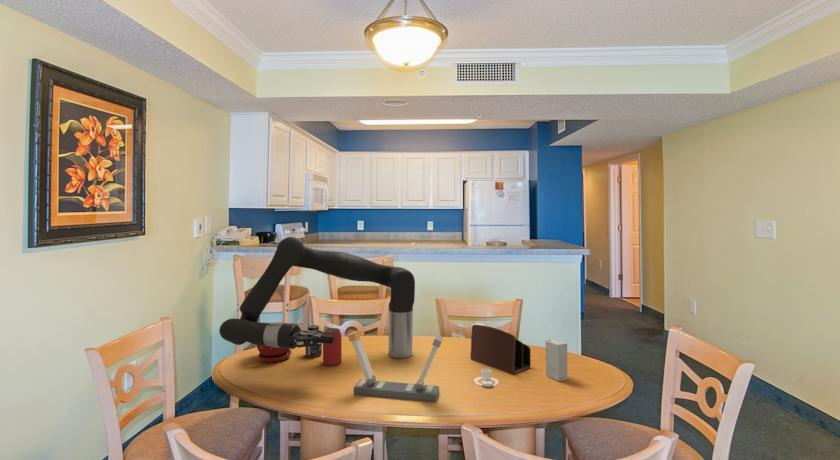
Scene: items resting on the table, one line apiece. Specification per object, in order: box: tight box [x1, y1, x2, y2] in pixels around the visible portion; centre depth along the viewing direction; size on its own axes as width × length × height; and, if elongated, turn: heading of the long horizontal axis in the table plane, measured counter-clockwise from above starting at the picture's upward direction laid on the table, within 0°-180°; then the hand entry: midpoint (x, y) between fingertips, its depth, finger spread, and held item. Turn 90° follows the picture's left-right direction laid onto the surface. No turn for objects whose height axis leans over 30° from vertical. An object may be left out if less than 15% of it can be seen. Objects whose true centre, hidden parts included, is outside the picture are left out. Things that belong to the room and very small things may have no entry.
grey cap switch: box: [415, 334, 444, 390], centre depth 125 cm, size 4×2×16 cm, turn 169°
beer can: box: [322, 327, 342, 367], centre depth 152 cm, size 7×7×12 cm
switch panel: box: [353, 379, 440, 403], centre depth 127 cm, size 6×25×2 cm, turn 79°
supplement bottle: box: [305, 324, 323, 359], centre depth 160 cm, size 6×6×11 cm
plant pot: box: [256, 322, 292, 363], centre depth 156 cm, size 13×13×12 cm
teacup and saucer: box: [473, 368, 499, 388], centre depth 136 cm, size 9×8×4 cm
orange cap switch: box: [347, 329, 377, 386], centre depth 129 cm, size 4×2×16 cm, turn 169°
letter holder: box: [470, 324, 532, 376], centre depth 153 cm, size 10×20×14 cm, turn 41°
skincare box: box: [545, 338, 568, 382], centre depth 140 cm, size 6×4×12 cm
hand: (333, 339), depth 130 cm, fingers closed
